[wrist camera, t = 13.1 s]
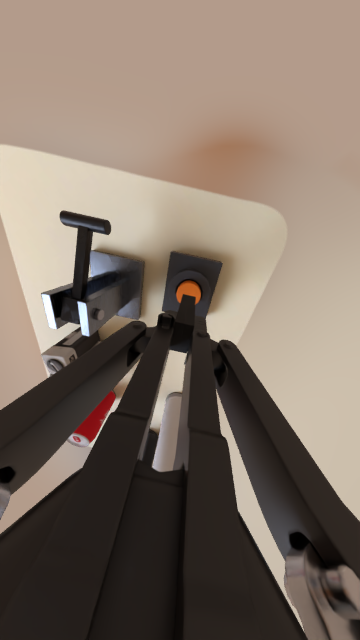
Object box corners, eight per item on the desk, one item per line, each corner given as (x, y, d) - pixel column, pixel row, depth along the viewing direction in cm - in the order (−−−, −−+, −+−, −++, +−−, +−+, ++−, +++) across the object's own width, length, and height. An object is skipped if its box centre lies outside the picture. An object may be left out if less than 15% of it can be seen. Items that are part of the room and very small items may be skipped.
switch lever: (73, 216, 18) (55, 204, 16) (113, 225, 18) (103, 215, 16) (64, 315, 20) (48, 317, 18) (101, 323, 20) (90, 327, 18)
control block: (172, 251, 25) (168, 252, 21) (220, 261, 25) (224, 264, 21) (164, 306, 29) (159, 315, 26) (204, 315, 29) (205, 325, 26)
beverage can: (98, 398, 45) (68, 446, 34) (93, 384, 42) (58, 431, 32) (118, 400, 45) (94, 450, 34) (114, 385, 42) (86, 435, 31)
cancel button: (180, 278, 23) (178, 280, 21) (203, 283, 23) (203, 286, 21) (175, 300, 25) (174, 303, 23) (197, 304, 25) (197, 309, 23)
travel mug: (191, 394, 40) (186, 514, 22) (186, 409, 43) (179, 525, 25) (168, 389, 40) (144, 505, 22) (165, 404, 43) (142, 517, 25)
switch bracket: (93, 250, 26) (12, 255, 15) (144, 261, 26) (103, 276, 14) (97, 308, 31) (39, 345, 20) (140, 317, 31) (107, 360, 20)
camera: (121, 375, 39) (100, 413, 31) (91, 371, 40) (61, 408, 31) (114, 329, 33) (83, 361, 24) (78, 325, 34) (35, 355, 25)
